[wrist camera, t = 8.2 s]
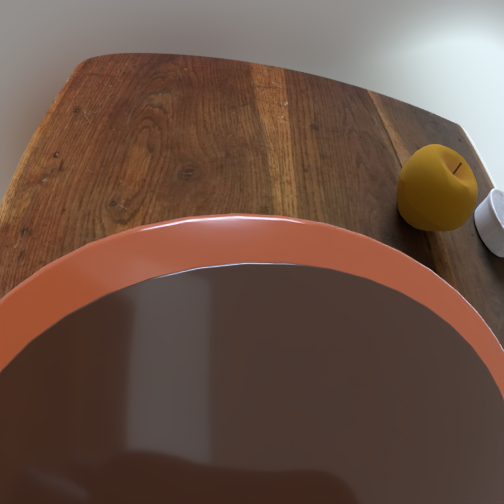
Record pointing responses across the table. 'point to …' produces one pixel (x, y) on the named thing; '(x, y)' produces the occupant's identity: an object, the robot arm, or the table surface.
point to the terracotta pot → (246, 373)
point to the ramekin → (492, 221)
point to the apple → (436, 189)
